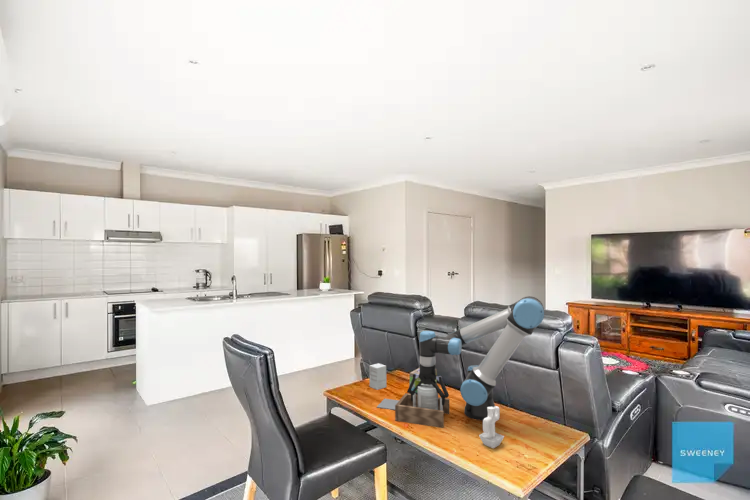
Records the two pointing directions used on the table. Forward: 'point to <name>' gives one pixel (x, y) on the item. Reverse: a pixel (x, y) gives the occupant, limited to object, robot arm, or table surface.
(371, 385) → the supplement box
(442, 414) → the walnut box
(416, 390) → the tea box
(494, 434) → the figurine
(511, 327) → the robot arm
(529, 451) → the table surface
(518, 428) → the table surface
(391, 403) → the grey mat
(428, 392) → the supplement tub
